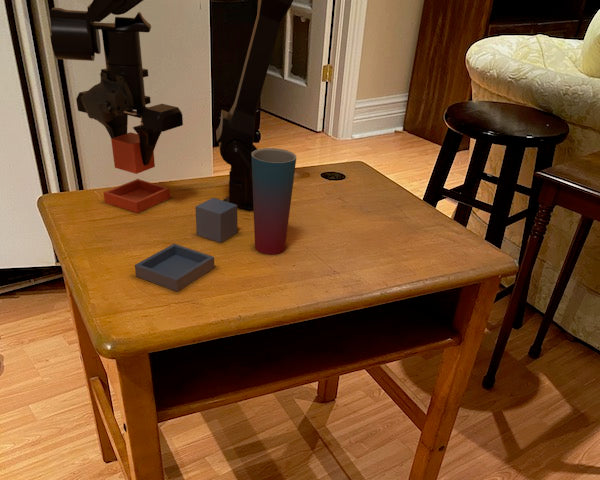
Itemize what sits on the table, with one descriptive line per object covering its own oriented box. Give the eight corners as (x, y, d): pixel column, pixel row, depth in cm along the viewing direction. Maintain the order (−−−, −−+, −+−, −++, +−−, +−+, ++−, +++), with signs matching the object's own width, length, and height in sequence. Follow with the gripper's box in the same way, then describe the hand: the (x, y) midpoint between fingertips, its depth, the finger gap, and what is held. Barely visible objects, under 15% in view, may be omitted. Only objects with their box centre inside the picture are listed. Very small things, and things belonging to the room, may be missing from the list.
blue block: (213, 225, 103) (213, 197, 100) (237, 233, 101) (237, 204, 98) (196, 235, 99) (195, 206, 96) (220, 243, 98) (220, 214, 94)
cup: (244, 241, 99) (245, 148, 89) (282, 237, 101) (287, 147, 92) (256, 259, 94) (259, 163, 85) (296, 254, 96) (303, 161, 87)
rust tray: (138, 188, 113) (137, 178, 112) (170, 198, 111) (169, 188, 110) (104, 202, 107) (103, 192, 106) (137, 213, 104) (136, 202, 103)
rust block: (133, 160, 108) (130, 132, 104) (155, 166, 106) (152, 137, 103) (114, 167, 104) (110, 138, 101) (136, 174, 102) (133, 144, 99)
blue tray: (174, 254, 93) (174, 243, 92) (214, 268, 91) (214, 256, 90) (135, 276, 87) (134, 264, 86) (177, 291, 84) (176, 280, 83)
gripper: (42, 59, 92) (61, 161, 102) (134, 80, 86) (145, 186, 96) (94, 51, 100) (107, 146, 110) (182, 69, 94) (187, 168, 103)
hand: (134, 161), depth 104 cm, fingers closed on rust block, 5 cm apart
